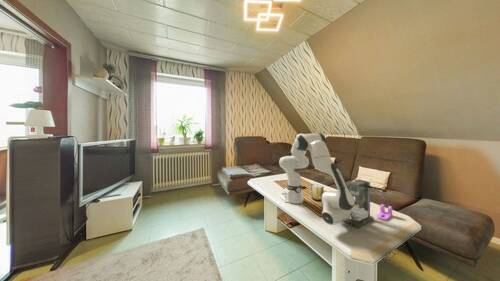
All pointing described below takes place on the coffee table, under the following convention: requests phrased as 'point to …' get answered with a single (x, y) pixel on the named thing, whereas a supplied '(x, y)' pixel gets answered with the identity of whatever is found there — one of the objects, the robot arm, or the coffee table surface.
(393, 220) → the coffee table surface
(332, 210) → the robot arm
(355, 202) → the bottle
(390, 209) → the bracket
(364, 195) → the press
